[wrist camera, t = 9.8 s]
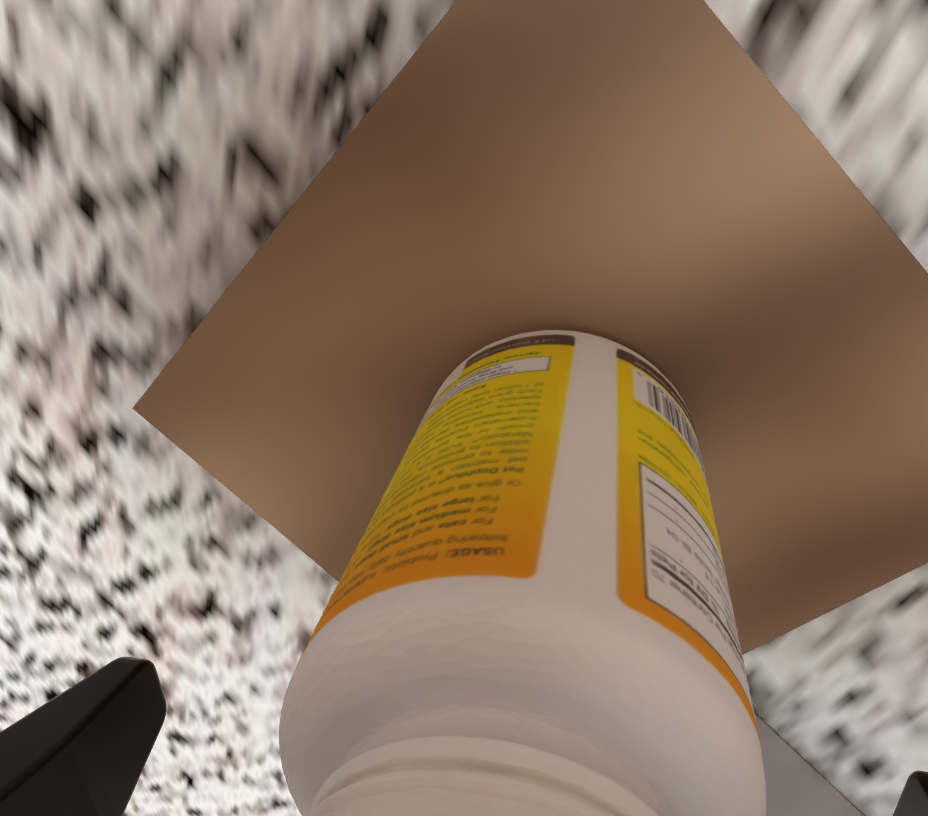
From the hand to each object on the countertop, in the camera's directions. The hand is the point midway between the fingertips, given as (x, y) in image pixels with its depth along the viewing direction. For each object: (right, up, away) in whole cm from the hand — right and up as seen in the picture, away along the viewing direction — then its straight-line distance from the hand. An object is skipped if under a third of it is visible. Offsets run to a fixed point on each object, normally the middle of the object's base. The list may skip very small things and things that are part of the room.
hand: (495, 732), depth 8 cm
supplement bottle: (+2, +3, +7) cm, 8 cm away
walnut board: (+2, +4, +7) cm, 8 cm away
